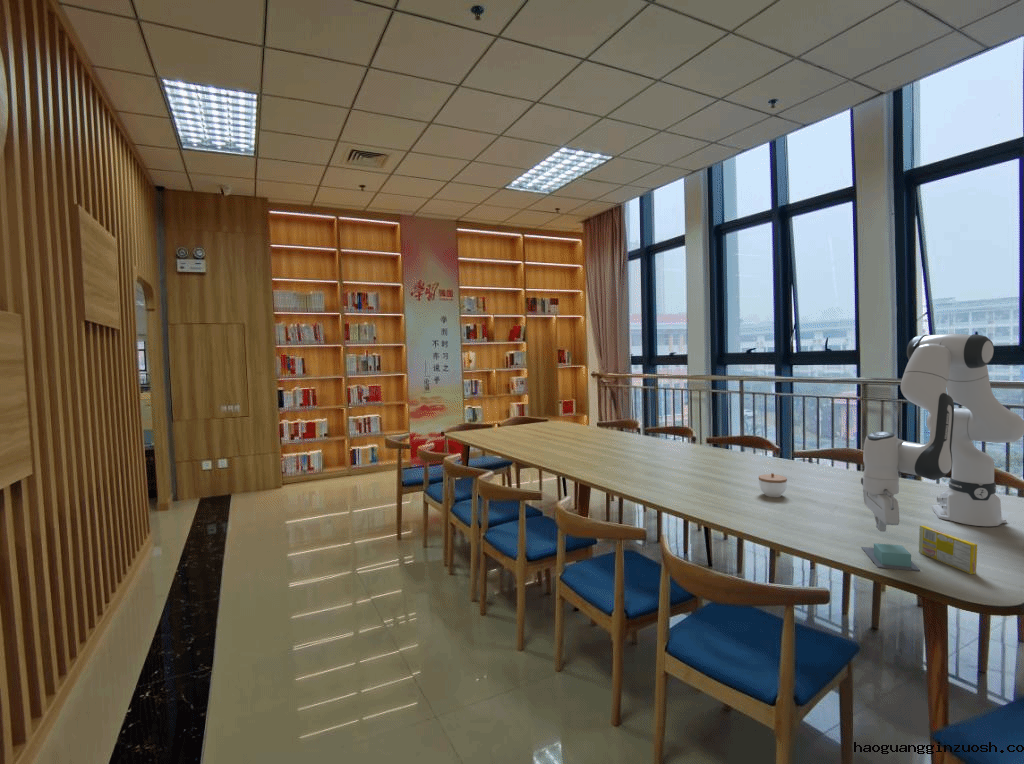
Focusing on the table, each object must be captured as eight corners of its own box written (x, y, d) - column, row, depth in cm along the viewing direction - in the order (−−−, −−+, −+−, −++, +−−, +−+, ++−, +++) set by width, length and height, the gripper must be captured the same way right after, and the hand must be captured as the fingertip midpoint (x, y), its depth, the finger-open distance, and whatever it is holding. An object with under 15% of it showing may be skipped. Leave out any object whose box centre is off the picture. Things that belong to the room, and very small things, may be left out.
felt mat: (861, 548, 161) (861, 546, 161) (900, 551, 158) (900, 549, 158) (877, 567, 147) (877, 566, 147) (920, 571, 144) (920, 569, 144)
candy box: (977, 574, 141) (978, 544, 140) (970, 575, 141) (971, 544, 140) (924, 551, 157) (924, 524, 157) (917, 552, 157) (918, 525, 156)
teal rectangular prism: (873, 543, 155) (881, 552, 148) (901, 545, 152) (911, 554, 146) (873, 554, 155) (881, 564, 148) (901, 557, 152) (911, 566, 146)
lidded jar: (780, 491, 225) (780, 470, 224) (791, 498, 214) (791, 476, 214) (754, 492, 226) (754, 470, 225) (764, 499, 215) (764, 476, 215)
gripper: (906, 495, 148) (906, 543, 149) (881, 477, 167) (882, 519, 168) (880, 494, 150) (880, 541, 151) (859, 476, 169) (859, 518, 170)
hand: (880, 529), depth 160 cm, fingers closed
